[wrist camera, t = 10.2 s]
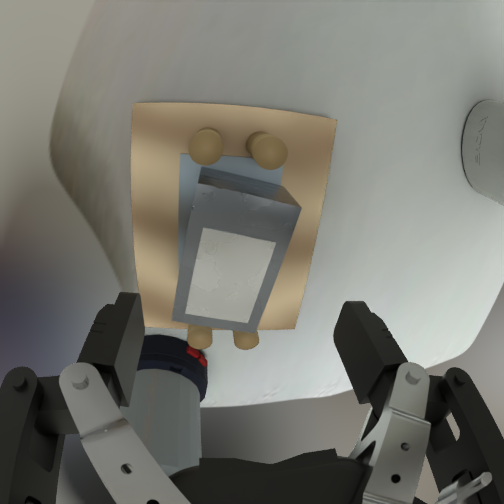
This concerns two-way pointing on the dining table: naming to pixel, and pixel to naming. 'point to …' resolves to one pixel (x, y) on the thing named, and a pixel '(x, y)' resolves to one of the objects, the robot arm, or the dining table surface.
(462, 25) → the dining table surface
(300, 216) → the wooden peg board
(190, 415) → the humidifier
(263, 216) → the block
